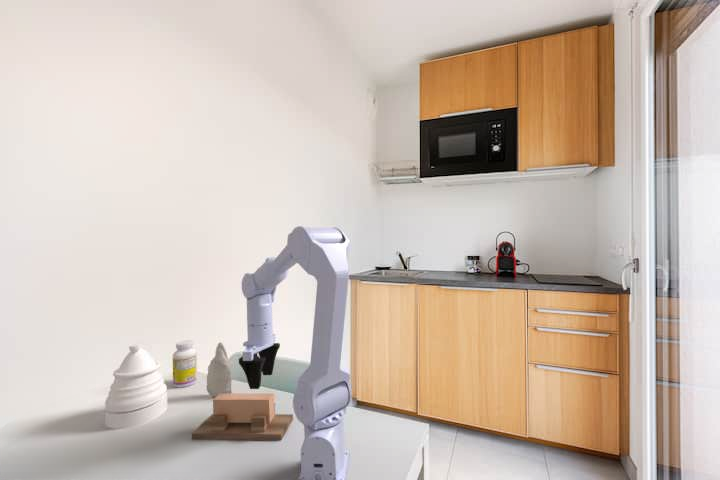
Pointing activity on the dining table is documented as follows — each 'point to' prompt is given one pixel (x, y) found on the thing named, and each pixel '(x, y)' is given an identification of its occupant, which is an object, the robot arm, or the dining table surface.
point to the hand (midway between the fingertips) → (261, 381)
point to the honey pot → (136, 391)
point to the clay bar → (244, 406)
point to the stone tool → (219, 373)
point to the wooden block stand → (244, 428)
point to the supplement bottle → (184, 364)
